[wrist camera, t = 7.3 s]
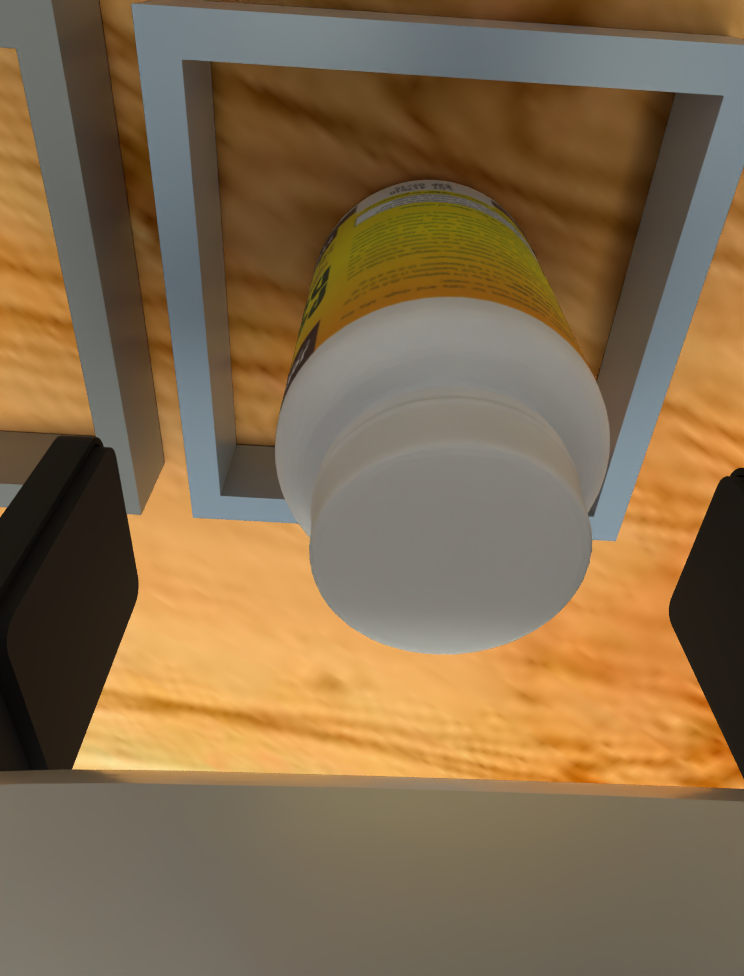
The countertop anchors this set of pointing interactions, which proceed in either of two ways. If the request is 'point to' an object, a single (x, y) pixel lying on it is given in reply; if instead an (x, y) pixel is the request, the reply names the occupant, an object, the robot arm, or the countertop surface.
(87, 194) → the grey open square frame
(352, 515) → the supplement bottle
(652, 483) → the countertop surface
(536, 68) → the blue-grey square frame
